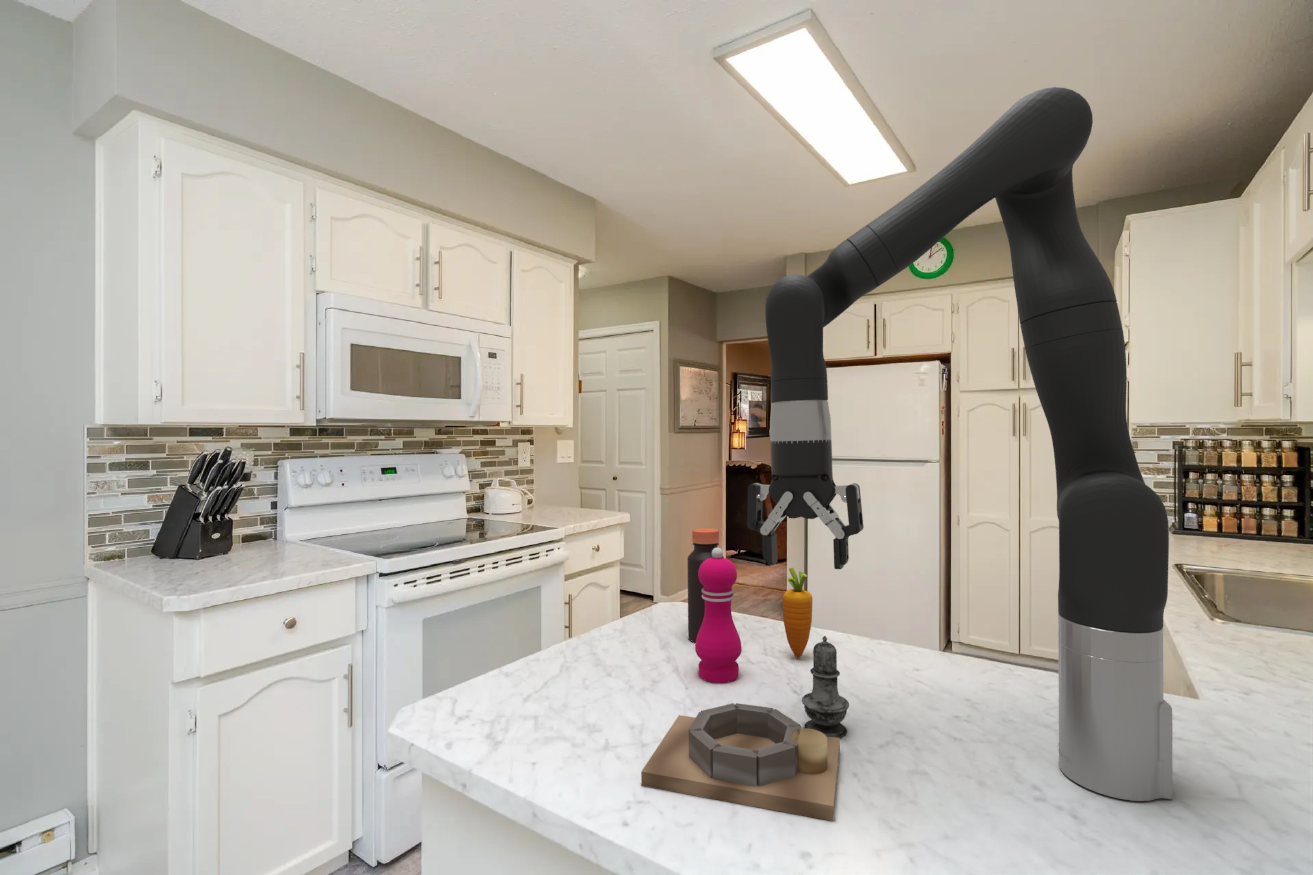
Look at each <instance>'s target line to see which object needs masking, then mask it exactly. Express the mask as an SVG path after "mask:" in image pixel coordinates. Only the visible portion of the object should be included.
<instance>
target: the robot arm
mask: <svg viewBox="0 0 1313 875" xmlns="http://www.w3.org/2000/svg"><path fill="white" fill-rule="evenodd" d="M1093 121H1094V119H1093V112H1092V109H1091V106H1090V103H1089V101H1087V99H1086V98H1085V97H1083V96H1082V95H1081V93H1078V92H1077V91H1074V90H1073V89H1070V88H1067V87H1056V86H1054V87H1046V88H1042V89H1039V90H1036V91H1033V92H1031V93H1028V94H1026V95H1025V96H1023V97H1022V98H1019V99H1018V100H1017V101H1016V102H1015V103H1014V104H1013V105H1012V106H1011V107H1010V108H1009V109H1007V110H1006V112H1004V113H1003V114H1002V115H1001V116H1000V117H999V118H998V119H997V120H995V122H993V124H991V126H989V127H988V128H987V129H986V130H985V131H984V132H983V133H982V134H981V135H980V136H979V137H978V138H977V139H975V141H973V143H971V144H970V145H969V146H968V147H966V148H965V150H963V151H962V152H961V153H960V154H959V155H958V156H956V157H955V158H954V159H953V160H951V161H950V162H949V163H948V164H947V165H946V166H945V167H943V168H942V169H941V170H939V171H938V172H937V173H936V174H935V175H933V176H932V177H931V178H930V179H929V180H927V181H926V182H924V183H923V184H922V185H920V186H919V187H918V188H917V189H915V190H914V191H913V192H912V193H909V194H908V195H907V196H906V197H904V198H903V199H901V201H899V202H897V203H896V204H895V205H893V206H892V207H890V208H889V209H888V210H886V211H885V212H884V213H882V214H881V215H879V216H878V217H877V218H874V220H872V221H870V222H869V223H868V224H866V225H865V226H863V227H862V228H860V229H859V230H858V231H856V232H855V233H853V234H852V235H850V236H848V237H847V238H846V239H845V240H843V241H842V242H840V243H839V244H838V245H837V246H836V247H835V248H833V250H832V251H831V252H830V253H829V254H828V257H827V259H826V260H825V262H823V263H822V264H821V265H820V266H818V267H817V268H816V269H814V270H813V271H812V272H810V273H809V274H808V275H807V276H805V275H804V274H788V275H786V276H783V277H782V278H781V277H780V278H779V279H778V280H777V281H775V282H774V284H773V285H772V286H771V287H770V289H769V291H768V294H767V296H766V300H765V304H764V306H765V307H764V308H765V310H764V311H765V312H764V314H765V325H766V326H765V327H766V334H767V335H766V336H767V343H768V349H769V350H768V351H769V355H770V398H771V400H770V401H771V404H770V405H771V408H770V417H769V419H770V420H769V438H770V459H771V460H770V462H771V463H770V465H771V482H770V484H762V483H761V482H754V483H750V484H749V485H748V487H747V505H746V506H747V507H746V508H747V510H746V512H747V514H746V516H747V517H746V527H747V528H748V530H749V531H755V532H757V533H759V534H760V535H761V537H762V538H761V541H762V542H761V544H762V546H761V548H762V558H763V559H764V561H766V563H767V565H770V566H771V565H772V566H774V565H775V564H777V563H778V560H779V558H778V556H779V555H778V533H775V531H776V529H777V528H778V527H779V525H780V523H782V521H784V519H785V518H786V517H787V518H789V519H798V518H803V519H807V520H814V519H816V518H819V519H820V520H821V522H822V524H823V525H825V526H826V527H827V528H828V529H829V531H830V532H831V533H832V534H833V536H834V537H835V538H834V539H833V540H832V541H833V542H832V544H833V565H834V566H833V568H834V570H842V569H843V568H844V567H845V565H846V564H848V562H849V559H850V557H849V556H850V554H849V537H850V536H854V535H858V534H859V533H861V532H862V531H863V530H864V528H865V527H864V517H863V509H862V508H863V507H862V497H861V487H860V485H859V484H858V483H857V482H855V483H851V484H847V485H846V484H844V485H836V483H835V481H834V477H833V475H834V474H833V448H832V446H833V445H832V443H833V442H832V421H831V420H832V419H831V413H830V406H829V401H828V400H829V393H828V392H829V391H828V390H829V388H828V371H827V365H826V364H827V363H826V360H825V356H824V328H825V327H826V326H828V325H829V324H830V323H832V322H833V321H834V320H835V319H837V318H838V317H839V316H840V315H842V314H843V313H844V312H845V311H847V309H849V308H850V307H851V306H852V305H853V304H855V303H856V302H857V301H858V300H859V299H860V298H862V297H863V296H865V295H866V294H868V293H870V292H872V291H874V290H875V289H877V288H878V287H880V286H881V285H883V284H884V283H886V282H887V281H889V280H890V279H892V278H893V277H895V276H896V275H898V274H900V273H901V272H903V271H904V270H906V269H907V268H908V267H910V266H911V265H912V264H914V263H915V262H916V261H917V260H919V259H920V258H921V257H922V256H924V255H925V254H926V253H927V252H929V251H930V249H932V248H933V247H934V246H936V245H937V243H938V242H940V241H941V240H942V239H943V238H945V237H946V236H947V235H948V234H949V233H950V232H952V230H954V229H955V228H956V227H957V226H959V224H961V223H962V222H963V221H965V220H966V219H967V218H968V217H970V216H971V215H972V214H974V213H975V212H976V211H978V210H979V209H980V208H982V207H983V206H985V205H986V204H988V203H989V202H991V201H992V200H994V199H995V201H996V205H997V208H998V210H999V211H998V212H999V214H1000V218H1001V221H1002V223H1003V227H1004V230H1005V233H1006V237H1007V241H1008V244H1009V252H1010V258H1011V260H1010V261H1011V268H1012V278H1013V279H1012V280H1013V285H1014V292H1015V298H1016V306H1017V312H1018V319H1019V320H1018V321H1019V325H1020V330H1021V334H1022V340H1023V346H1024V350H1025V355H1026V360H1027V364H1028V367H1029V370H1030V373H1031V376H1032V381H1033V383H1034V388H1035V390H1036V393H1037V397H1038V399H1039V402H1040V404H1041V408H1042V412H1043V413H1044V416H1045V418H1046V422H1047V424H1048V428H1049V433H1050V436H1051V442H1052V447H1053V448H1052V450H1053V457H1054V458H1053V459H1054V466H1055V480H1056V516H1057V519H1058V544H1059V545H1058V546H1059V547H1058V558H1059V559H1058V561H1059V562H1058V564H1059V566H1058V568H1059V570H1058V571H1059V572H1058V590H1057V591H1058V592H1057V605H1058V606H1057V608H1058V609H1057V611H1058V613H1057V614H1058V616H1057V618H1058V619H1057V621H1058V622H1057V624H1058V625H1057V626H1058V628H1057V629H1058V631H1057V632H1058V633H1057V635H1058V636H1057V637H1058V639H1057V640H1058V644H1057V645H1058V652H1057V653H1058V656H1057V657H1058V743H1057V744H1058V745H1057V750H1058V766H1059V768H1060V771H1062V773H1063V774H1064V776H1066V777H1067V778H1068V779H1070V780H1071V781H1073V782H1075V783H1076V784H1078V785H1080V786H1081V787H1083V788H1086V789H1087V790H1090V791H1093V792H1095V793H1098V794H1100V795H1104V796H1107V797H1111V798H1115V799H1119V800H1125V801H1132V802H1133V801H1136V802H1147V801H1148V802H1150V801H1153V800H1157V799H1166V800H1173V794H1174V793H1173V788H1174V787H1173V782H1174V781H1173V776H1174V775H1173V708H1172V706H1171V704H1170V703H1168V702H1167V700H1165V699H1164V615H1165V614H1164V612H1165V608H1166V605H1167V602H1168V595H1169V594H1168V592H1169V553H1170V552H1169V551H1170V549H1169V548H1170V544H1169V543H1170V542H1169V541H1170V537H1169V536H1170V533H1169V532H1170V531H1169V530H1170V529H1169V527H1170V526H1169V520H1168V513H1167V509H1166V507H1165V504H1164V503H1163V500H1162V499H1161V497H1160V496H1159V495H1158V494H1157V493H1156V491H1154V489H1152V488H1151V487H1150V486H1149V485H1147V484H1146V482H1145V480H1144V477H1143V475H1142V472H1141V469H1140V467H1139V463H1138V461H1137V460H1138V459H1137V457H1136V453H1135V450H1134V447H1133V444H1132V440H1131V436H1130V432H1129V426H1128V419H1127V387H1128V386H1127V382H1128V381H1127V380H1128V378H1127V371H1128V370H1127V354H1126V345H1125V336H1124V330H1123V324H1122V319H1121V314H1120V310H1119V306H1118V305H1119V304H1118V299H1117V297H1116V294H1115V290H1114V287H1113V284H1112V281H1111V279H1110V277H1109V275H1108V273H1107V271H1106V270H1105V268H1104V266H1103V265H1102V262H1101V261H1100V259H1099V258H1098V256H1097V255H1096V253H1095V252H1094V250H1093V249H1092V247H1091V245H1090V244H1089V242H1088V241H1087V240H1088V239H1086V237H1085V235H1084V233H1083V231H1082V228H1081V226H1080V222H1079V218H1078V213H1077V207H1076V199H1075V193H1074V183H1073V178H1074V177H1073V167H1074V165H1075V163H1076V162H1077V160H1078V158H1080V156H1081V154H1082V153H1083V151H1084V150H1085V148H1086V146H1087V144H1088V141H1089V139H1090V135H1091V134H1092V128H1093V124H1094V123H1093ZM768 494H769V495H770V497H771V499H773V501H774V502H775V504H776V505H775V506H774V508H772V510H771V512H770V513H769V515H768V517H767V519H766V520H765V521H763V502H764V500H766V499H767V497H768V496H767V495H768ZM837 495H838V496H839V497H840V500H841V501H842V502H843V503H845V504H846V510H847V520H848V524H847V525H846V524H845V523H844V521H842V519H841V518H840V516H839V514H838V512H837V511H836V510H835V509H834V507H833V506H832V505H831V503H832V501H833V500H834V499H835V497H836V496H837Z"/></svg>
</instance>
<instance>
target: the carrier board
mask: <svg viewBox="0 0 1313 875" xmlns="http://www.w3.org/2000/svg"><path fill="white" fill-rule="evenodd" d="M840 757H841V738H834V737H827V736H826V735H825V734H823V733H822V732H820V731H817V730H814V729H807V728H804V727H802V725H801V724H800V723H799V722H797V721H795V720H793V719H792V718H790V717H789V716H787V715H786V714H784V713H783V712H781V711H780V710H778V709H777V708H775V709H774V708H773V707H767V706H762V705H753V704H746V703H739V702H738V703H737V702H736V703H729V704H725V705H720V706H716V707H713V708H712V707H711V708H708V709H702V710H701V711H699V712H698V714H697V715H696V717H693V716H688V715H681V714H678V716H677V717H676V719H675V720H674V721H673V723H672V725H671V726H670V728H669V729H668V731H667V733H665V736H664V737H663V738H662V740H661V741H660V743H659V745H657V747H656V749H655V751H654V752H653V753H652V754H651V756H650V758H649V759H648V761H647V762H646V764H645V765H644V766H643V768H642V770H641V773H640V774H641V775H640V776H641V779H640V780H641V783H640V784H641V786H643V787H648V788H654V789H659V790H664V791H671V792H674V793H675V792H676V793H679V794H685V795H691V796H696V797H702V798H707V799H712V800H716V801H722V802H723V801H724V802H728V803H734V804H739V805H745V806H749V807H755V808H759V809H760V808H761V809H766V810H771V811H776V812H781V813H786V814H792V815H798V816H804V817H808V818H814V819H820V820H826V821H830V822H834V821H835V810H836V809H835V808H836V800H837V789H838V788H837V787H838V777H839V766H840Z"/></svg>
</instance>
